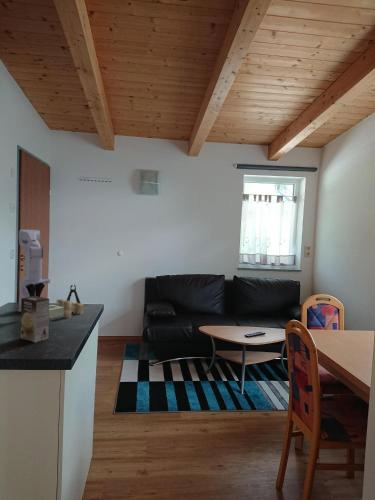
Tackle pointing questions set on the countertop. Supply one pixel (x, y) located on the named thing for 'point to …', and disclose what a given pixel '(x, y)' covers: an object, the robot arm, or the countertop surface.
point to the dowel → (67, 309)
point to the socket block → (55, 311)
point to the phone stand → (75, 294)
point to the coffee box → (34, 318)
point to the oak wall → (75, 307)
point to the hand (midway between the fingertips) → (35, 299)
